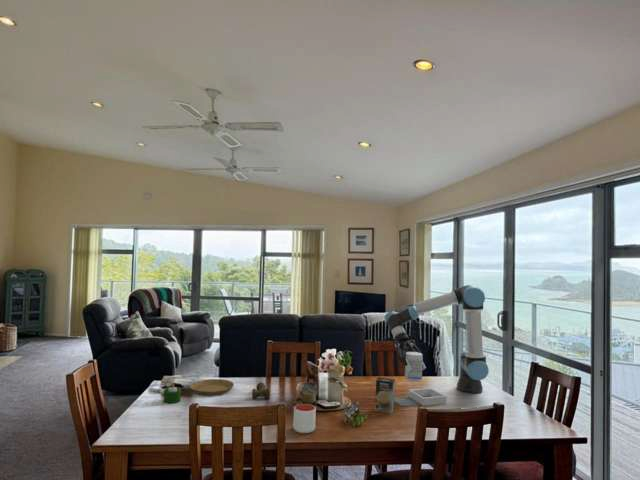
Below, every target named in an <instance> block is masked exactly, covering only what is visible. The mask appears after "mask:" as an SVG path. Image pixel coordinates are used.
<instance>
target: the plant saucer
mask: <svg viewBox="0 0 640 480" xmlns="http://www.w3.org/2000/svg"><path fill="white" fill-rule="evenodd" d="M234 385H235V384H234V382H232V381H230V380H228V379H221V378H220V379H219V378H212V379H203V380H199V381H195V382H193V383H192V384H191V385H190V388H191V390H192V391H193V392H194V393H195V394H197V395H199V396H200V395H201V396H209V397H211V396H219V395H224V394H226V393H228V392H230V391H231V390H232V389H233V387H234Z"/></svg>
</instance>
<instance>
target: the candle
mask: <svg viewBox="0 0 640 480" xmlns="http://www.w3.org/2000/svg"><path fill="white" fill-rule="evenodd" d="M163 392H164V394H163V403H164V404H168V405H174V404H178V403H180V402H181V399H182V398H181V395H182V390H181V389H180V388H178V387H176V386H175V382H174V381H172V383H171V387H169V388H167V389H165V390H164V391H163Z"/></svg>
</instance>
